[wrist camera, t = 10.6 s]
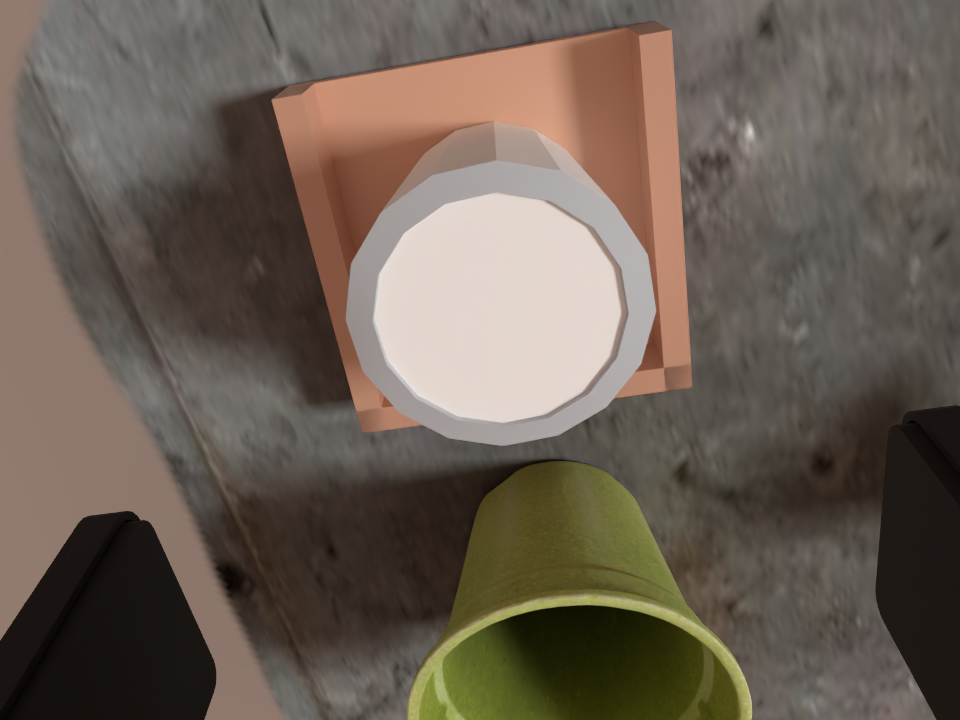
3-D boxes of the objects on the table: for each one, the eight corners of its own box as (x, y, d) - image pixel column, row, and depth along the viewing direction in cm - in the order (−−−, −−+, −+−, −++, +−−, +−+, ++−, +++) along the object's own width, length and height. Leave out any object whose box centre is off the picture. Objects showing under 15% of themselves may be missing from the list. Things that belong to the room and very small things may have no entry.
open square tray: (289, 85, 23) (271, 99, 21) (655, 21, 23) (671, 29, 21) (370, 398, 28) (362, 433, 26) (677, 354, 27) (692, 387, 25)
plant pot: (432, 624, 33) (416, 839, 25) (419, 418, 28) (394, 600, 21) (673, 621, 33) (731, 837, 25) (696, 413, 28) (775, 596, 20)
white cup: (499, 365, 27) (504, 497, 21) (331, 223, 25) (280, 324, 18) (662, 213, 24) (722, 311, 18) (491, 43, 22) (494, 88, 16)
